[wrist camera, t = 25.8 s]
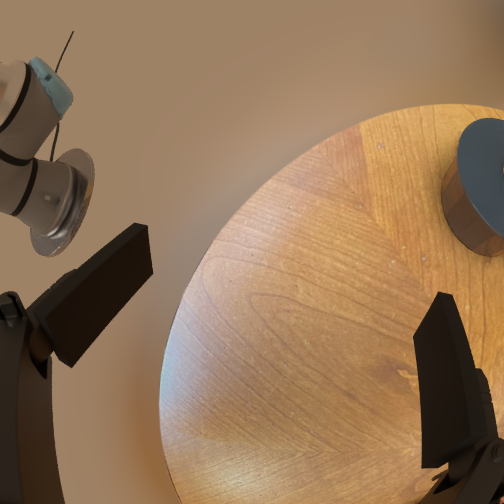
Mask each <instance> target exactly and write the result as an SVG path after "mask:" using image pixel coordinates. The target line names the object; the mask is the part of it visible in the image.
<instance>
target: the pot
mask: <svg viewBox="0 0 504 504" xmlns="http://www.w3.org/2000/svg"><path fill="white" fill-rule="evenodd" d="M441 199H442V207H443V211H444V214H445V217H446V220H447V222H448V224H449V226H450V228H451V230H452V231H453V233H454V234H455V235H456V237H457V238H458V239H459V240H460V241H461V242H462V243H463V244H464V245H465V246H466V247H467V248H469V249H470V250H472V251H473V252H475V253H477V254H480V255H483V256H489V257H493V256H500V255H504V240H502V239H501V238H499V237H498V236H496V235H495V234H494V233H492V232H491V231H490V230H489V229H488V228H487V227H486V226H485V225H484V224H483V223H482V222H481V221H480V219H479V218H478V217H477V216H476V214H475V213H474V211H473V210H472V208H471V207H470V205H469V203H468V201H467V199H466V198H465V195H464V193H463V191H462V188H461V185H460V182H459V179H458V174H457V169H456V155H455V157H454V159H453V161H452V163H451V164H450V166H449V168H448V170H447V172H446V174H445V176H444V180H443V184H442V191H441Z"/></svg>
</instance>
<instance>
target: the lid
mask: <svg viewBox="0 0 504 504" xmlns="http://www.w3.org/2000/svg"><path fill="white" fill-rule="evenodd" d="M456 169H457V174H458V179H459V182H460V185H461V188H462V191H463V193H464V195H465V198H466V199H467V201H468V203H469V205H470V207H471V208H472V210H473V211H474V213H475V214H476V216H477V217H478V218H479V219H480V221H481V222H482V223H483V224H484V225H485V226H486V227H487V228H488V229H489V230H490V231H491V232H492V233H494V234H495V235H496V236H498V237H499V238H501V239H502V240H504V120H500V119H495V118H484V119H479V120H477V121H474V122H473V123H471V124H470V125H468V126H467V127H466V128H465V130H464V131H463V133H462V135H461V137H460V139H459V141H458V145H457V149H456Z"/></svg>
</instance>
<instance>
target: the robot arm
mask: <svg viewBox="0 0 504 504" xmlns="http://www.w3.org/2000/svg"><path fill="white" fill-rule="evenodd" d="M73 32H74V31H73ZM73 32H72V34H71V36H70V38H69V40H68V42H67V44H66V47H65V48H64V51H63V53H62V55H61V58H60V60H59V62H58V65H57V67H56V70H55V72H54V71H53V70H52V69H51V68H50V67H49V66H48V65H47V64H46V63H45V62H44V61H43V60H42V59H40V58H38V57H34V58H33V59H32V60H30V61H29V63H28V64H26V63H24V62H22V61H20V60H16V61H13V62H11V63H10V64H7V65H5V64H3V63H1V62H0V212H3V213H6V214H9V215H12V216H15V217H17V218H18V219H20V220H21V221H22V222H23V223H25V224H26V225H27V226H29V227H30V228H31V229H32V230H33V231H34V232H35V233H36V234H39V235H42V236H45V237H47V236H50V235H52V234H54V233H55V232H56V231H57V230H58V228H59V227H60V226H61V224H62V223H63V221H64V220H65V218H66V216H67V214H68V212H69V209H70V207H71V204H72V201H73V198H74V194H75V189H76V172H75V170H74V168H73V167H72V166H70V165H69V164H67V163H65V162H52V161H53V154H54V149H55V144H56V140H57V136H58V132H59V121H60V120H61V119H62V118H63V115H64V114H65V112H66V111H67V110H68V108H69V107H70V106H71V104H72V102H73V94H72V92H71V91H70V89H69V87H68V86H67V85H66V84H65V83H64V82H63V80H62V79H61V78H60V77H59V76H58V75H57V74H56V73H57V69H58V66H59V63H60V61H61V59H62V56H63V54H64V52H65V50H66V48H67V46H68V43H69V41H70V39H71V37H72V35H73ZM56 125H57V129H56V134H55V138H54V142H53V146H52V151H51V157H50V161H43V160H38V159H36V158H34V156H35V154H36V153H37V151H38V150H39V148H40V147H41V145H42V144H43V142H44V141H45V140H46V138H47V137H48V136H49V134H50V133H51V132H52V130H53V129H54V127H55V126H56ZM152 274H153V268H152V261H151V253H150V244H149V235H148V226H147V225H143V224H138V223H133V224H132V225H131V226H129V227H128V228H127V229H126V230H124V231H123V232H122V233H121V234H119V235H118V236H117V237H115V238H114V239H113V240H112V241H110V242H109V243H108V244H107V245H105V246H104V247H103V248H102V249H100V250H99V251H98V252H97V253H96V254H94V255H93V256H92V257H91V258H90V259H88V260H87V261H86V262H85V263H84V264H82V265H81V266H80V267H79V268H78V269H74V270H72V271H70V272H68V273H66V274H64V275H63V276H62V277H61V278H60V279H58V280H57V281H56V283H54V284H53V285H52V286H51V287H50V289H47V290H46V291H45V292H44V293H43V294H42V295H41V296H40V297H39V298H37V299H36V300H35V301H34V302H33V303H32V304H31V305H30V306H29V307H28V308H27V309H26V310H25V308H24V306H23V304H22V302H21V300H20V298H19V296H18V294H17V293H16V292H13V291H8V292H5V293H3V294H1V295H0V504H65V501H64V497H63V492H62V487H61V482H60V477H59V471H58V464H57V457H56V450H55V440H54V428H53V412H52V358H51V356H50V355H51V353H52V352H53V351H54V352H55V354H56V356H57V357H58V359H59V360H60V361H61V362H63V363H64V364H66V365H67V366H69V367H71V368H72V367H73V366H74V365H75V364H76V362H77V361H78V360H79V359H80V357H81V356H82V355H83V354H84V353H85V351H86V350H87V349H88V348H89V347H90V345H91V344H92V343H93V342H94V340H95V339H96V338H97V337H98V336H99V334H100V333H101V332H102V331H103V330H104V329H105V327H106V326H107V325H108V324H109V323H110V322H111V320H112V319H113V318H114V317H115V316H116V315H117V314H118V312H119V311H120V310H121V309H122V308H123V307H124V306H125V304H126V303H127V302H128V301H129V300H130V299H131V297H132V296H133V295H134V294H135V293H136V292H137V291H138V290H139V289H140V288H141V286H142V285H143V284H144V283H145V282H146V281H147V280H148V279H149V278H150V277H151V275H152ZM413 340H414V347H415V354H416V362H417V371H418V380H419V391H420V405H421V427H422V466H421V469H423V468H439V467H441V466H442V465H444V464H446V463H447V462H448V469H447V470H445V471H443V472H441V473H440V474H438V475H436V476H435V477H433V478H432V479H431V480H432V481H434V480H436V479H438V478H439V479H438V481H437V482H436V483H435V485H434V486H433V487H432V488H431V490H430V491H429V492H428V493H427V495H426V496H425V497H424V498H423V499H422V501H421V502H420V503H419V504H500V501H501V498H502V497H504V440H503V439H502V438H499V437H498V432H497V425H496V419H495V413H494V408H493V403H491V401H492V398H491V393H489V392H490V389H489V385H488V380H487V378H486V376H485V375H484V373H483V371H482V370H481V369H478V368H475V364H474V360H473V356H472V353H471V349H470V346H469V342H468V339H467V336H466V333H465V330H464V326H463V323H462V320H461V318H460V315H459V312H458V309H457V306H456V303H455V301H454V298H453V295H451V294H447V293H442V292H438V293H437V295H436V297H435V299H434V301H433V303H432V305H431V306H430V308H429V310H428V312H427V314H426V315H425V317H424V319H423V321H422V322H421V324H420V326H419V327H418V329H417V331H416V332H415V334H414V336H413ZM502 504H504V503H502Z"/></svg>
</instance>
